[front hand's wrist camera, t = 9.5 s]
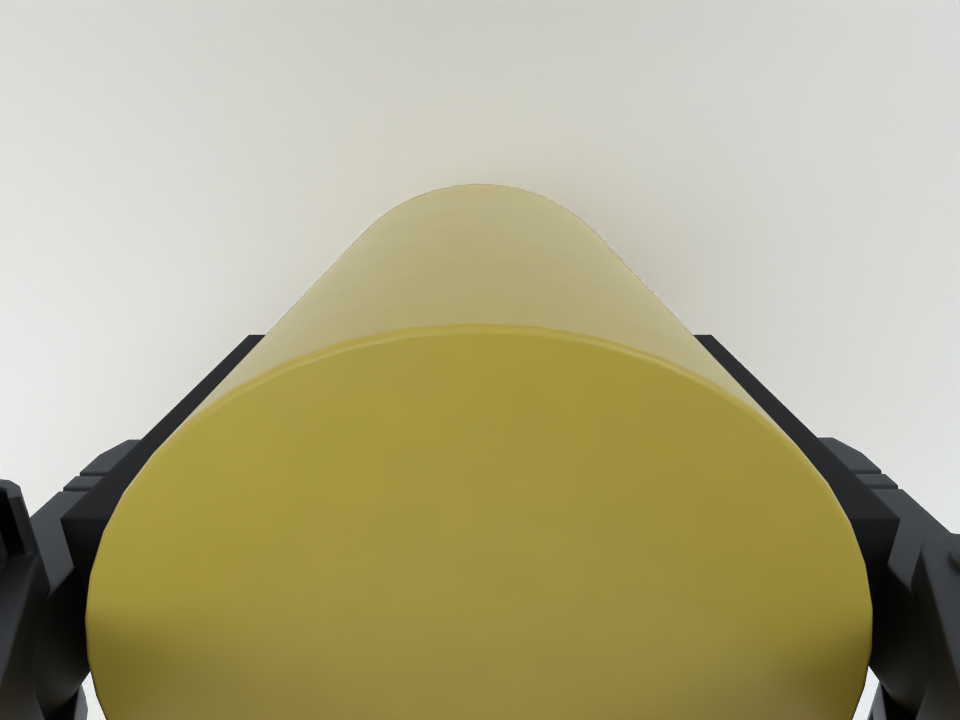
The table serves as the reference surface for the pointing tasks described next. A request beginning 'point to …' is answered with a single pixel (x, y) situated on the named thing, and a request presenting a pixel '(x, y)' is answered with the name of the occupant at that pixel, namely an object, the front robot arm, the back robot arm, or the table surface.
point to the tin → (479, 506)
